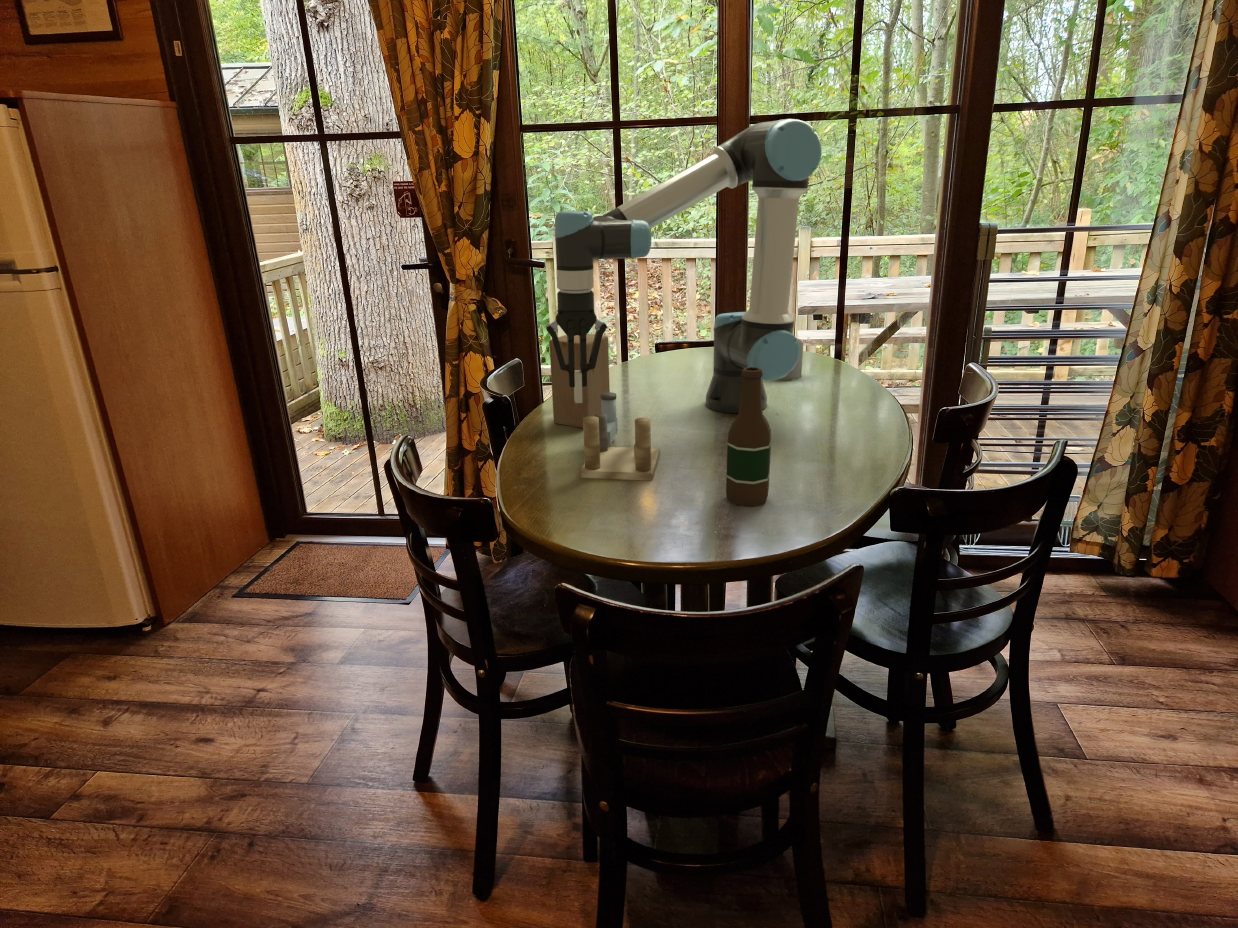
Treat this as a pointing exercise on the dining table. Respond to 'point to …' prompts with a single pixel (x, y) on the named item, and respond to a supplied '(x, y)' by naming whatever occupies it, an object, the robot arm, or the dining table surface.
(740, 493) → the beer bottle
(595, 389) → the wooden block
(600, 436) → the wooden twin post stand
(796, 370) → the coffee mug
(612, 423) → the hinged leg
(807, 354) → the dining table surface
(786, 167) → the robot arm
